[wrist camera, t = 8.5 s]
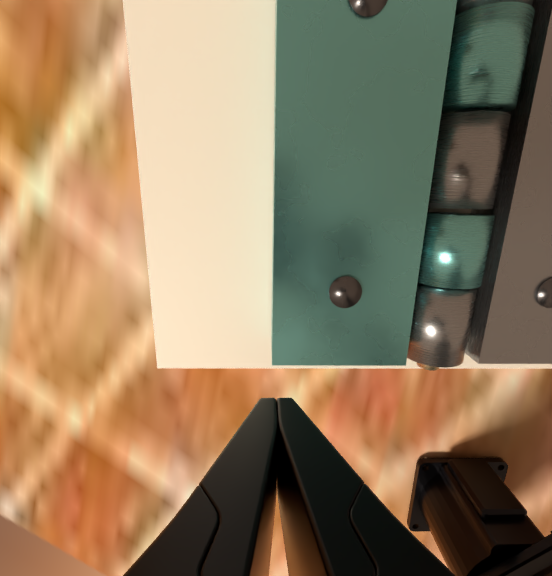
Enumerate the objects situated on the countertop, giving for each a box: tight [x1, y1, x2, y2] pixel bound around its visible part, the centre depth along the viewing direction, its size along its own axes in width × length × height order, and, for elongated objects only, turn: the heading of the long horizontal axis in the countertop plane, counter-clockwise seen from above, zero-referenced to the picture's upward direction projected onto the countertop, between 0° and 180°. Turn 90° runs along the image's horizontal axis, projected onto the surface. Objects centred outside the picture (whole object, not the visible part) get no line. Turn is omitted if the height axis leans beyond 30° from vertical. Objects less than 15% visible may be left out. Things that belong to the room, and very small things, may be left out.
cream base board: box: [123, 0, 552, 369], centre depth 18 cm, size 24×26×1 cm
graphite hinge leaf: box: [407, 0, 552, 370], centre depth 16 cm, size 22×10×3 cm, turn 179°
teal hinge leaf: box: [271, 0, 535, 366], centre depth 16 cm, size 20×11×3 cm, turn 179°
